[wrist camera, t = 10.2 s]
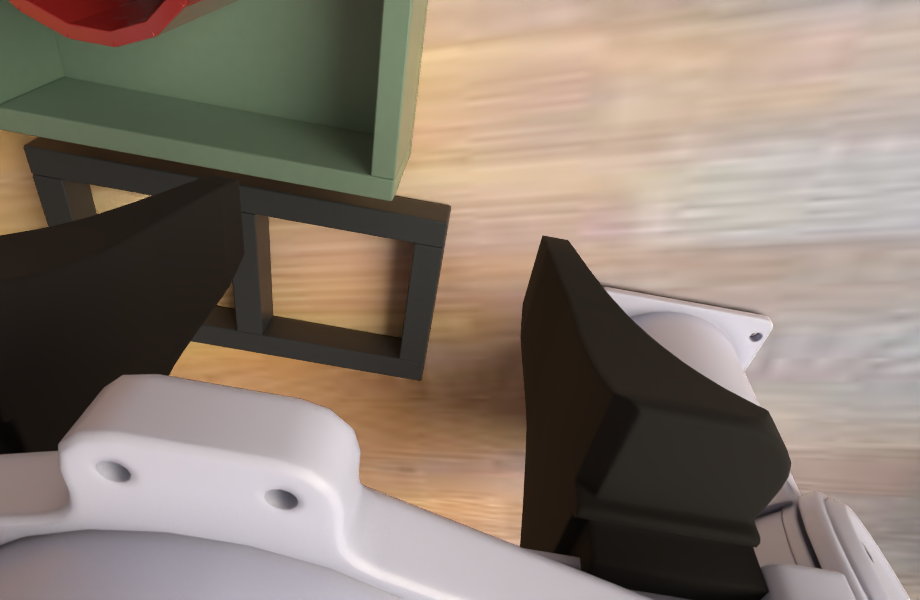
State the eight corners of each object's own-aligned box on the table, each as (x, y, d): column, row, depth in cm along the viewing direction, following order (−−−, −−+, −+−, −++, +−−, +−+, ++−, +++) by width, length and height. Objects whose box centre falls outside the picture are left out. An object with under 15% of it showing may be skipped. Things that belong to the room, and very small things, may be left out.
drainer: (425, 360, 29) (421, 381, 27) (97, 303, 28) (78, 322, 27) (451, 205, 23) (448, 222, 22) (47, 131, 23) (22, 145, 22)
